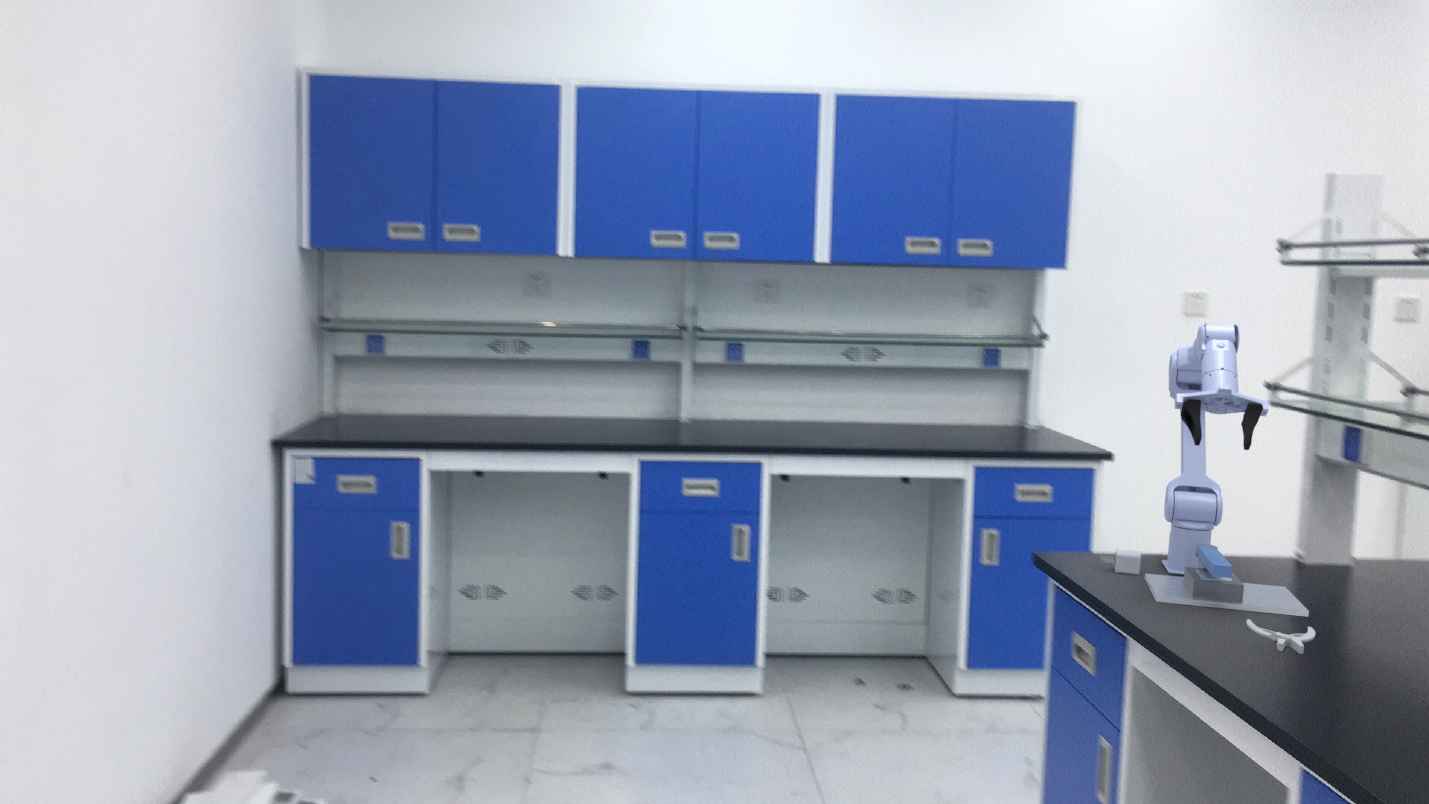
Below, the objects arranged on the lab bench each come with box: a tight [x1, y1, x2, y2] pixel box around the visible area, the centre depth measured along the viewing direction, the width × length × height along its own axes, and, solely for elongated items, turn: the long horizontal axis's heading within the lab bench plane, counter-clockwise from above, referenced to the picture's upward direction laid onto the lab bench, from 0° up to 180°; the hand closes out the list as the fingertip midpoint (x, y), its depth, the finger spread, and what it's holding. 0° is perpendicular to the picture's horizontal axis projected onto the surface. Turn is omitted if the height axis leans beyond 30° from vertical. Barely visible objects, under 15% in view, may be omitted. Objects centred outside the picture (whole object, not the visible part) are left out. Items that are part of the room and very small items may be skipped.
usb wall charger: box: [1100, 548, 1142, 576], centre depth 213 cm, size 4×7×4 cm, turn 72°
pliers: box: [1245, 618, 1316, 655], centre depth 174 cm, size 10×2×15 cm
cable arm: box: [1195, 544, 1233, 578], centre depth 197 cm, size 17×4×2 cm, turn 166°
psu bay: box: [1144, 559, 1310, 618], centre depth 197 cm, size 16×24×5 cm, turn 76°
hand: (1222, 444), depth 185 cm, fingers open, 7 cm apart
